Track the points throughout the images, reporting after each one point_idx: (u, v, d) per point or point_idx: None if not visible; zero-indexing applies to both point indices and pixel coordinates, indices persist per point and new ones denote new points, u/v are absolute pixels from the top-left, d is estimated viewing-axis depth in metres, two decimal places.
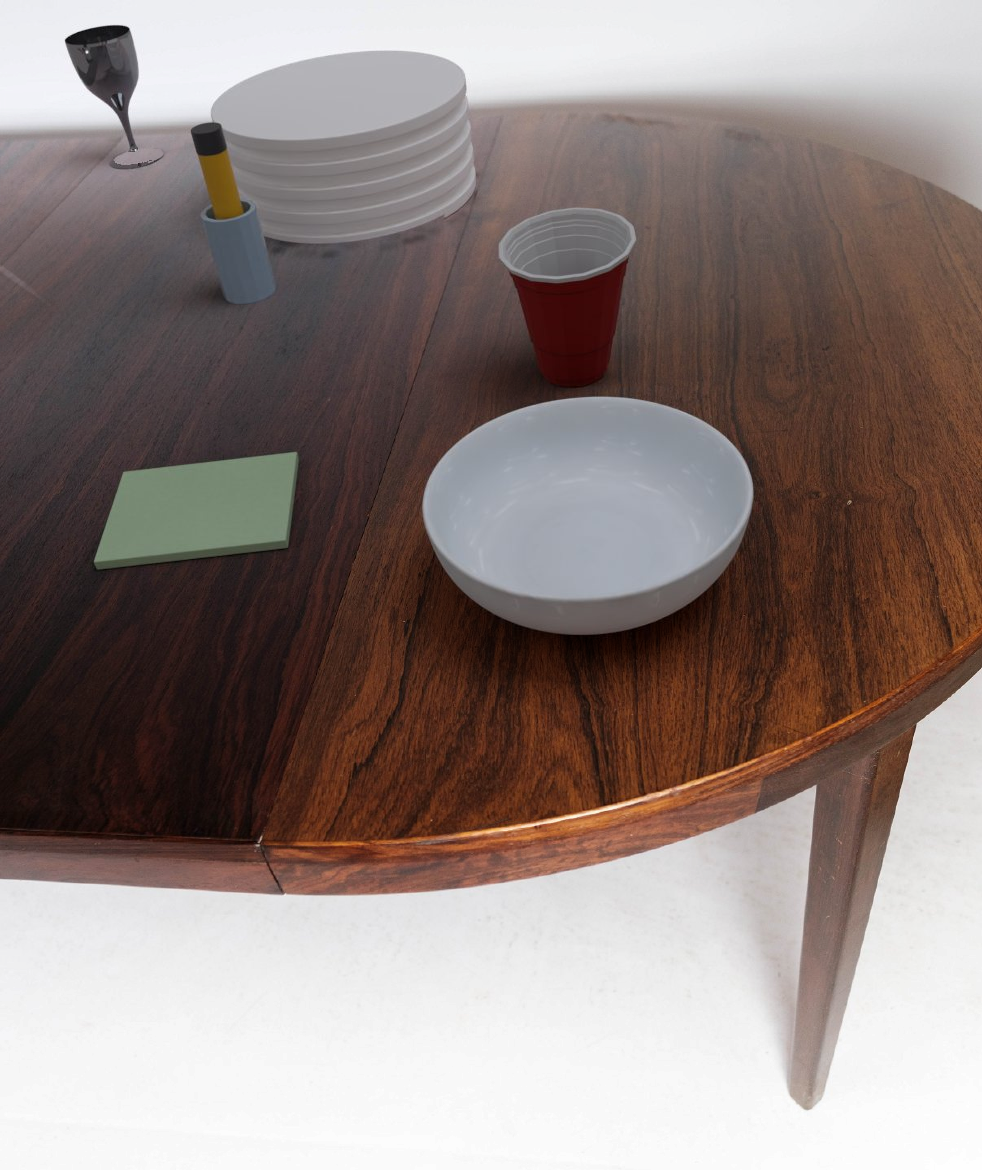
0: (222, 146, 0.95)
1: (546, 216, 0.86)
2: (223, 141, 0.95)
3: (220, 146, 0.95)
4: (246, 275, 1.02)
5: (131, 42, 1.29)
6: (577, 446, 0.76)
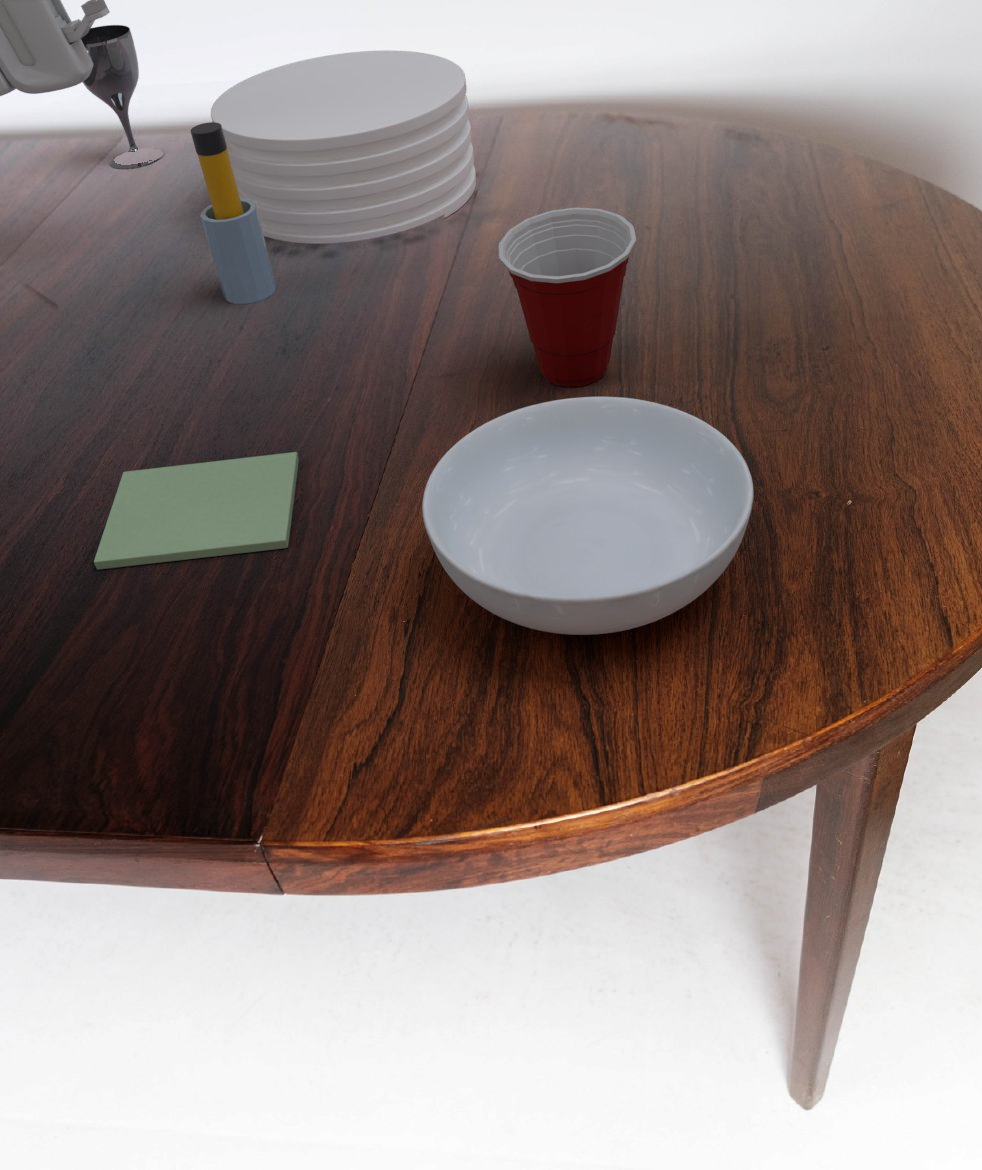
0: (222, 146, 0.95)
1: (546, 216, 0.86)
2: (223, 141, 0.95)
3: (220, 146, 0.95)
4: (246, 275, 1.02)
5: (131, 42, 1.29)
6: (577, 446, 0.76)
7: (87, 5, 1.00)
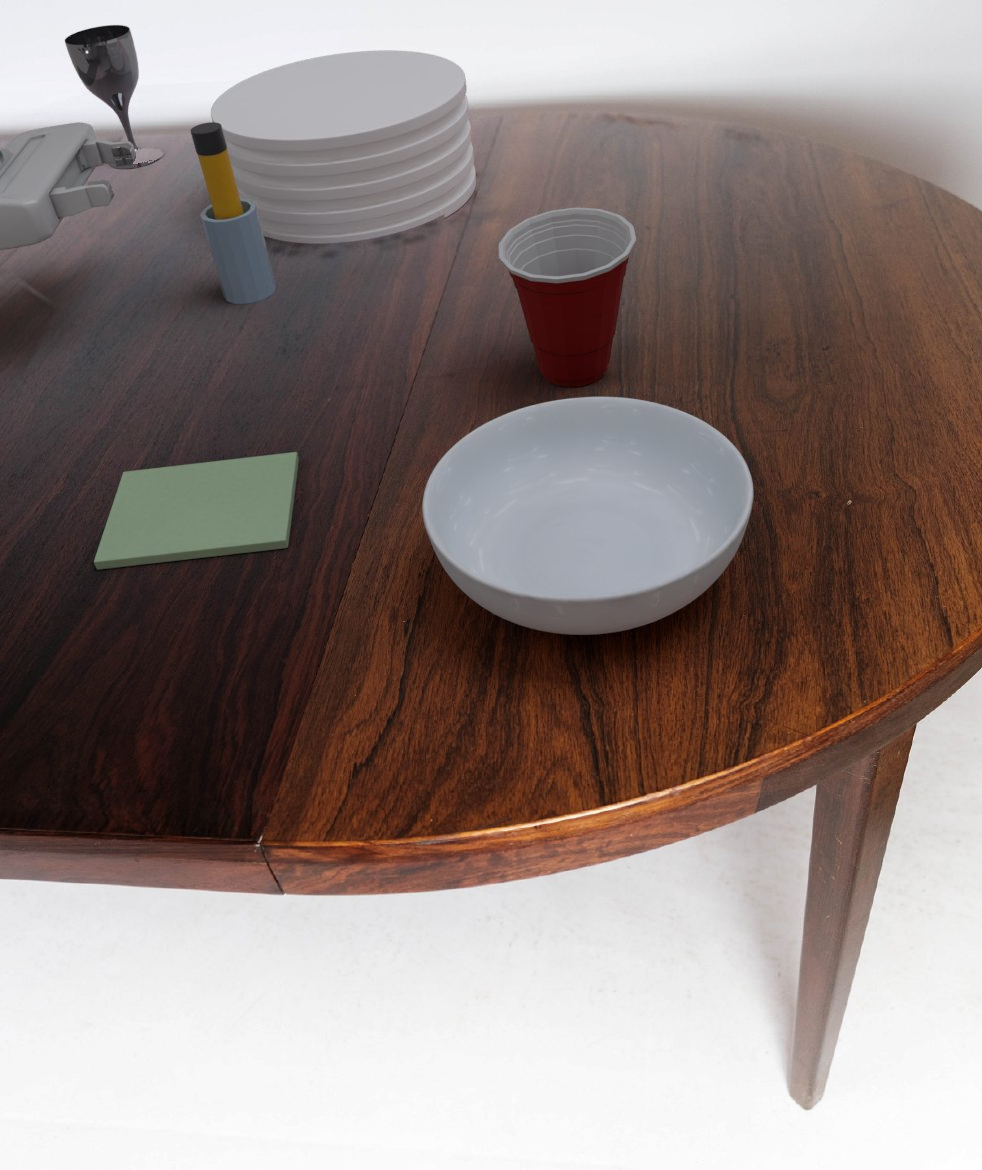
0: (222, 146, 0.95)
1: (546, 216, 0.86)
2: (223, 141, 0.95)
3: (220, 146, 0.95)
4: (246, 275, 1.02)
5: (131, 42, 1.29)
6: (577, 446, 0.76)
7: (96, 181, 0.94)
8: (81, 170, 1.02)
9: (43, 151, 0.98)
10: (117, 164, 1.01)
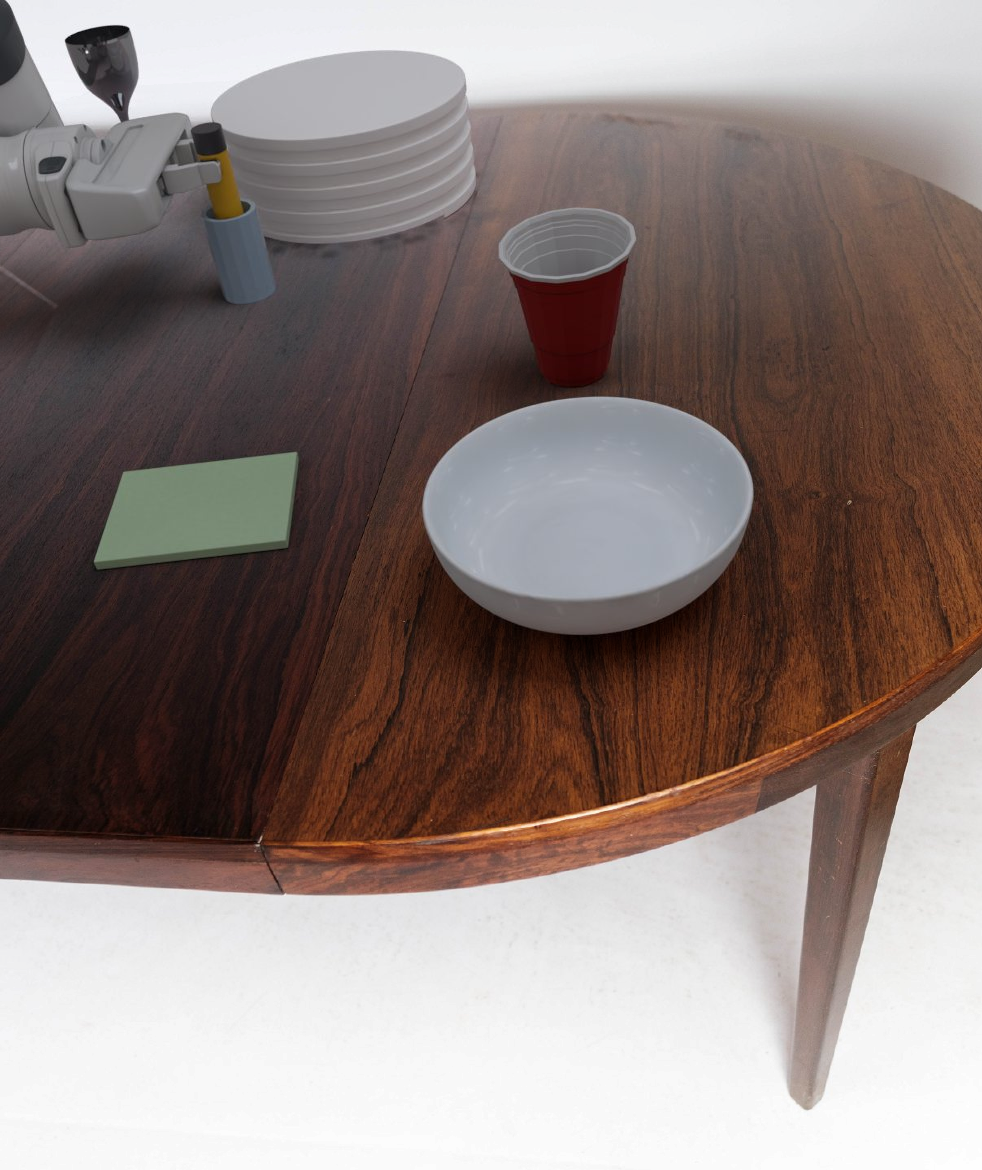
0: (222, 146, 0.95)
1: (546, 216, 0.86)
2: (223, 141, 0.95)
3: (220, 146, 0.95)
4: (246, 275, 1.02)
5: (131, 42, 1.29)
6: (577, 446, 0.76)
7: (207, 159, 0.95)
8: None
9: (144, 141, 0.98)
10: None
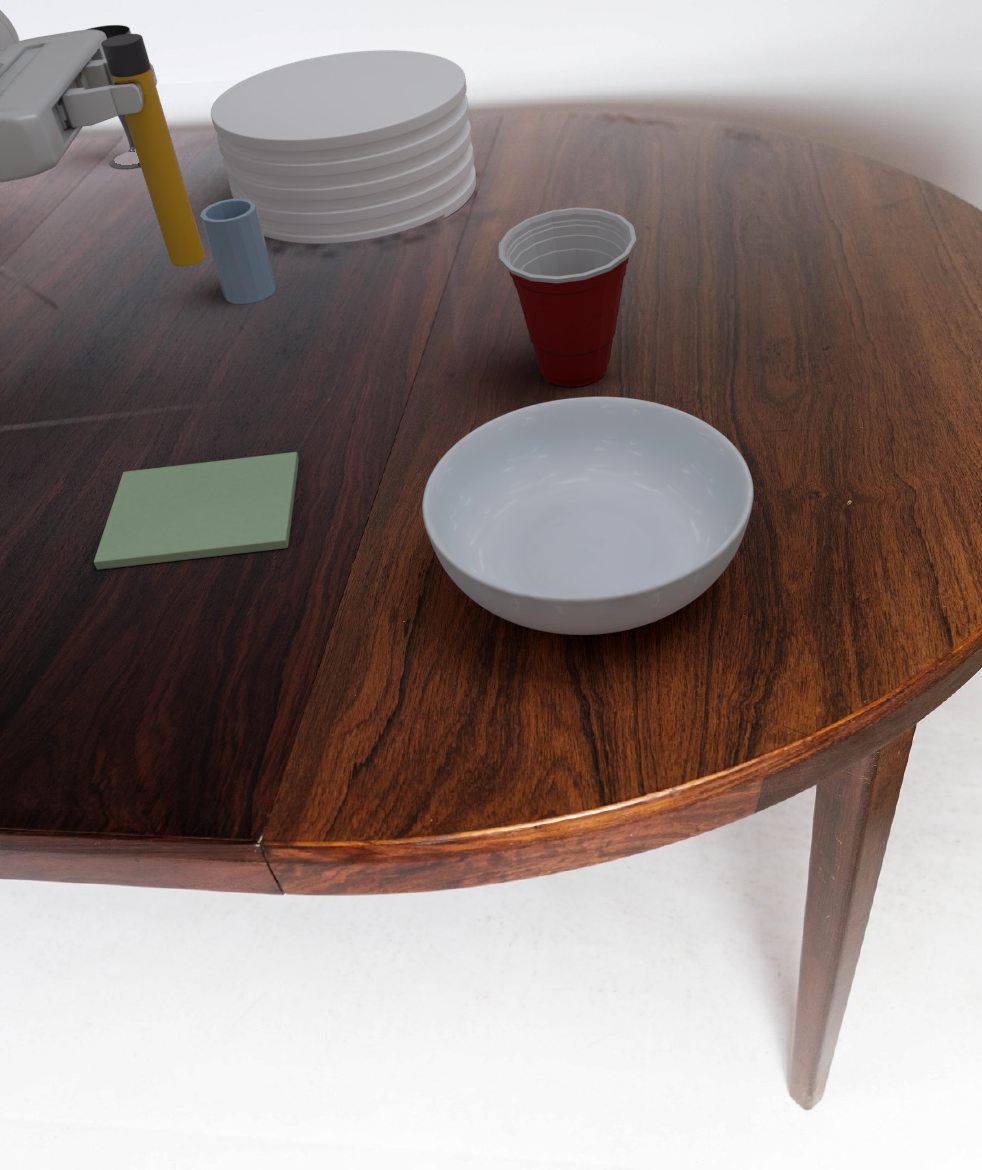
0: (144, 64, 0.73)
1: (546, 216, 0.86)
2: (145, 58, 0.73)
3: (141, 64, 0.72)
4: (246, 275, 1.02)
5: None
6: (577, 446, 0.76)
7: (123, 81, 0.73)
8: None
9: (43, 60, 0.75)
10: None
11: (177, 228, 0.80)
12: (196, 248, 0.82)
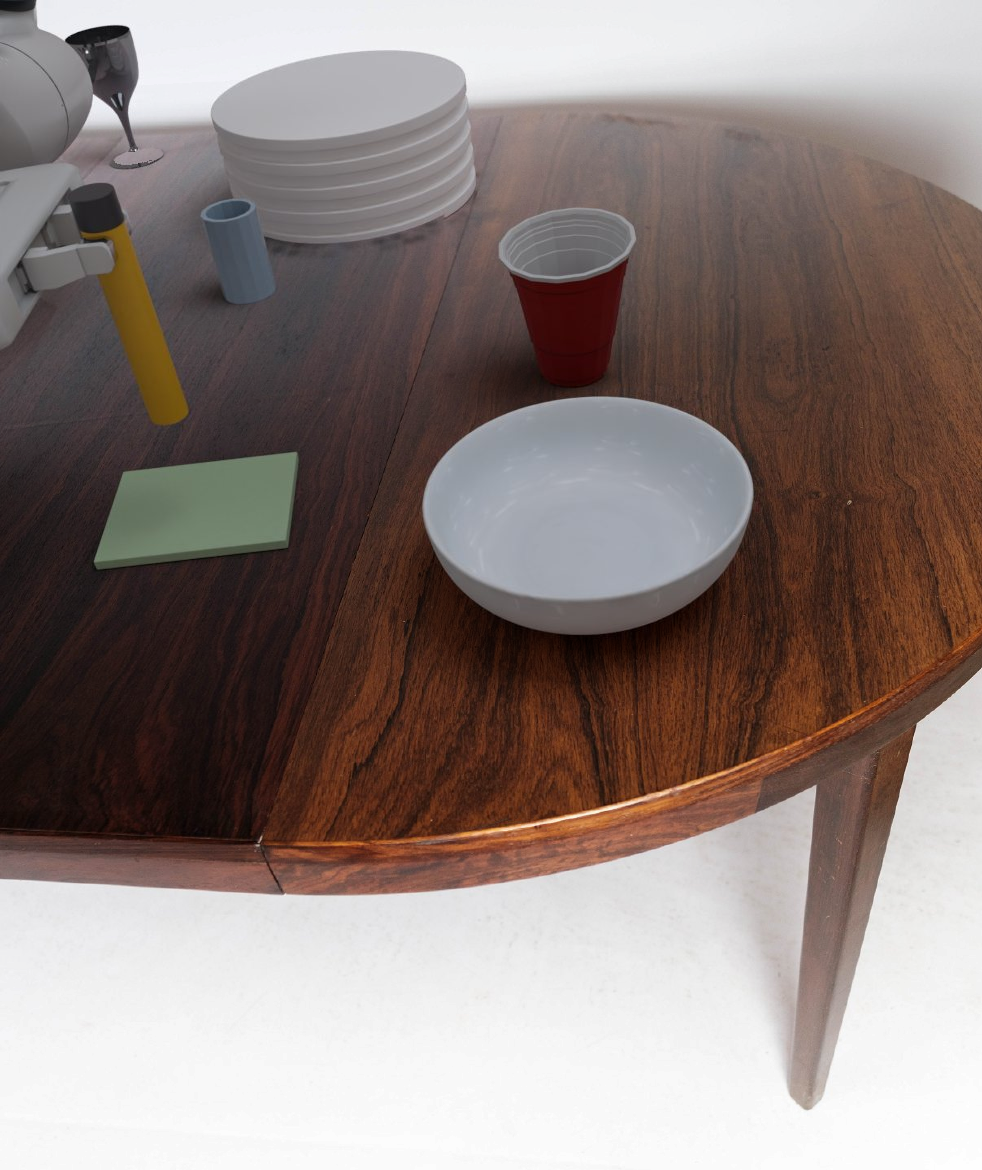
0: (116, 218, 0.64)
1: (546, 216, 0.86)
2: (117, 211, 0.64)
3: (112, 219, 0.64)
4: (246, 275, 1.02)
5: (131, 42, 1.29)
6: (577, 446, 0.76)
7: (92, 238, 0.64)
8: None
9: (3, 208, 0.66)
10: None
11: (156, 387, 0.71)
12: (177, 406, 0.73)
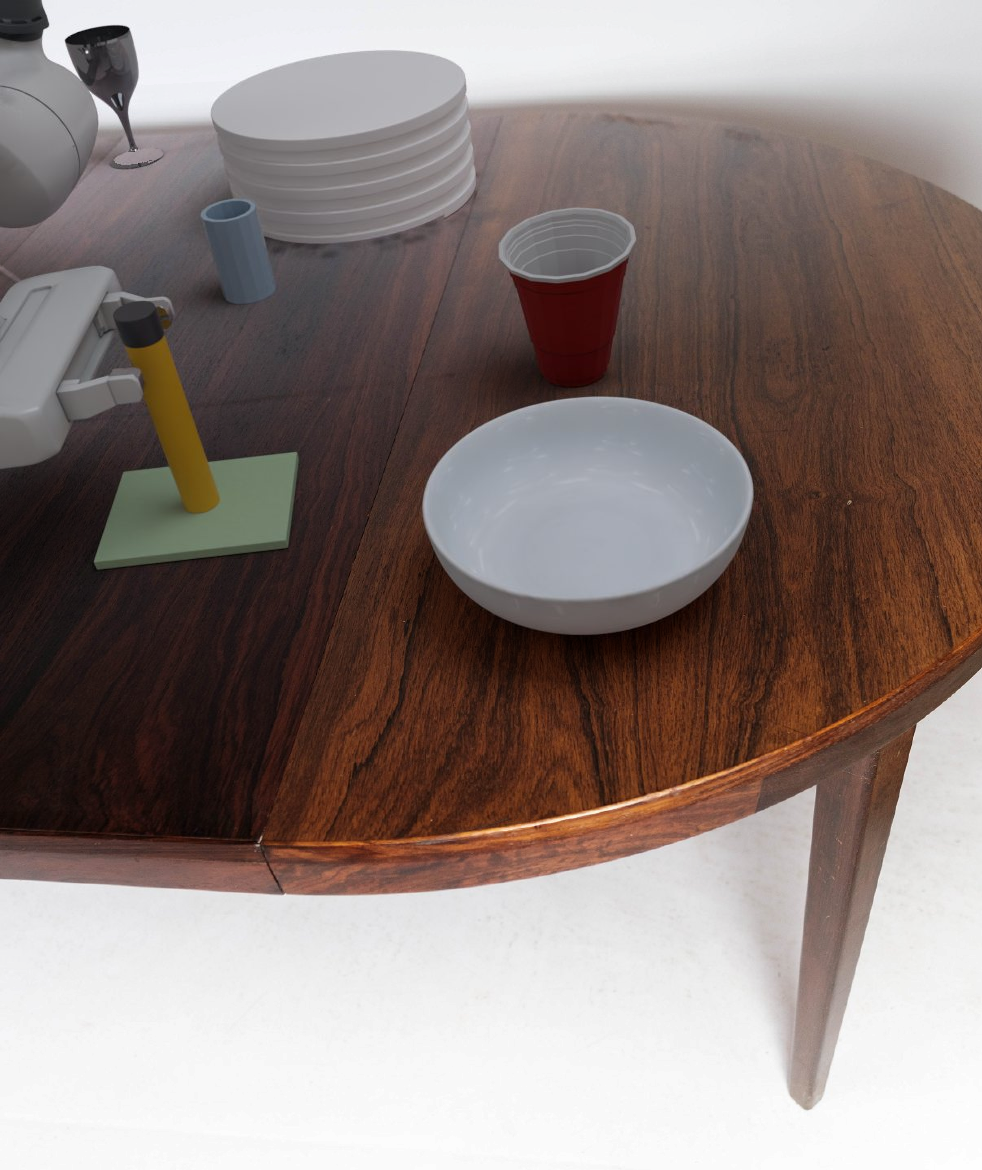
0: (157, 334, 0.69)
1: (546, 216, 0.86)
2: (158, 327, 0.69)
3: (154, 335, 0.69)
4: (246, 275, 1.02)
5: (131, 42, 1.29)
6: (577, 446, 0.76)
7: (122, 369, 0.67)
8: (100, 335, 0.75)
9: (47, 316, 0.71)
10: None
11: (191, 480, 0.77)
12: (210, 495, 0.78)
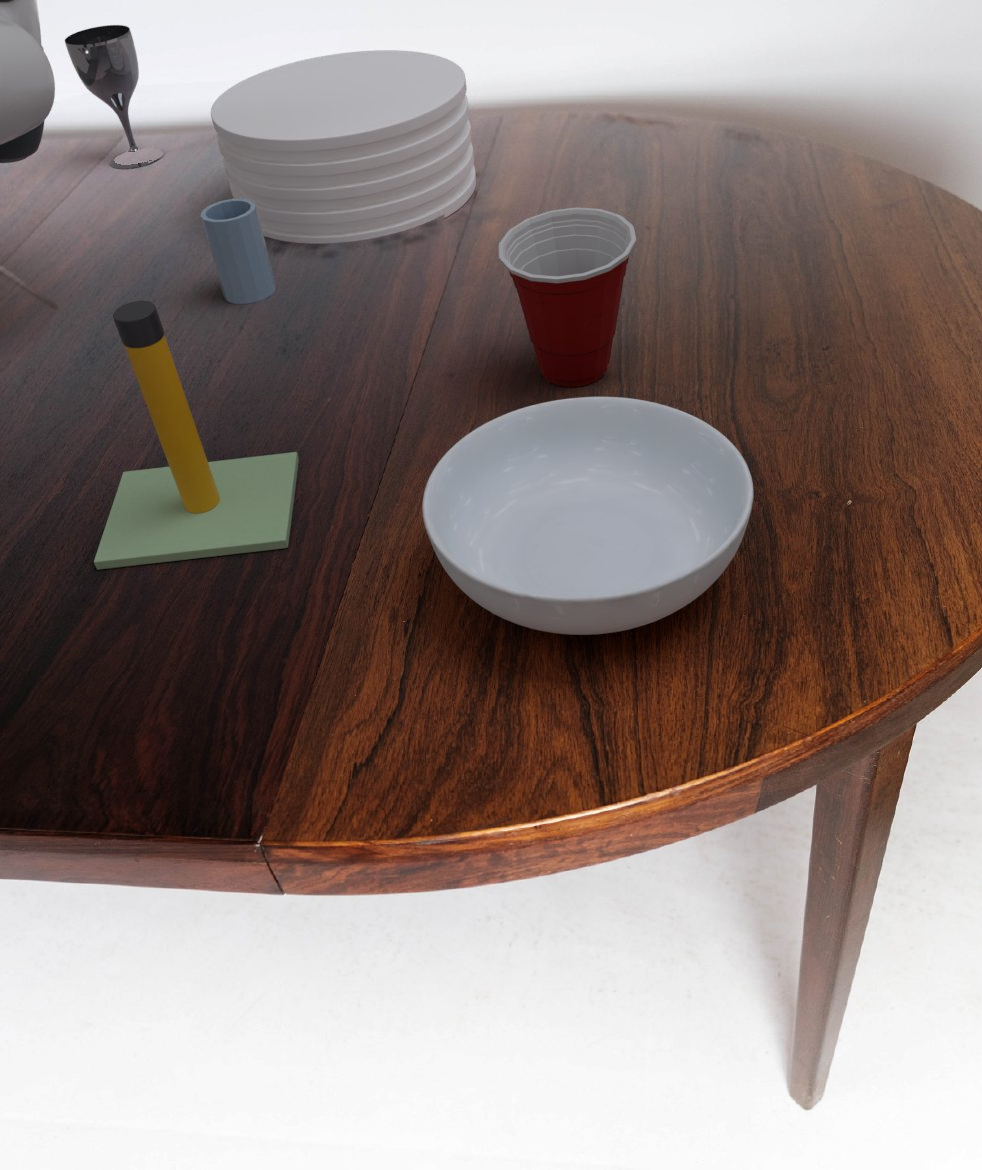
0: (157, 334, 0.69)
1: (546, 216, 0.86)
2: (158, 327, 0.69)
3: (154, 335, 0.69)
4: (246, 275, 1.02)
5: (131, 42, 1.29)
6: (577, 446, 0.76)
7: None
8: None
9: None
10: None
11: (191, 480, 0.77)
12: (210, 495, 0.78)
